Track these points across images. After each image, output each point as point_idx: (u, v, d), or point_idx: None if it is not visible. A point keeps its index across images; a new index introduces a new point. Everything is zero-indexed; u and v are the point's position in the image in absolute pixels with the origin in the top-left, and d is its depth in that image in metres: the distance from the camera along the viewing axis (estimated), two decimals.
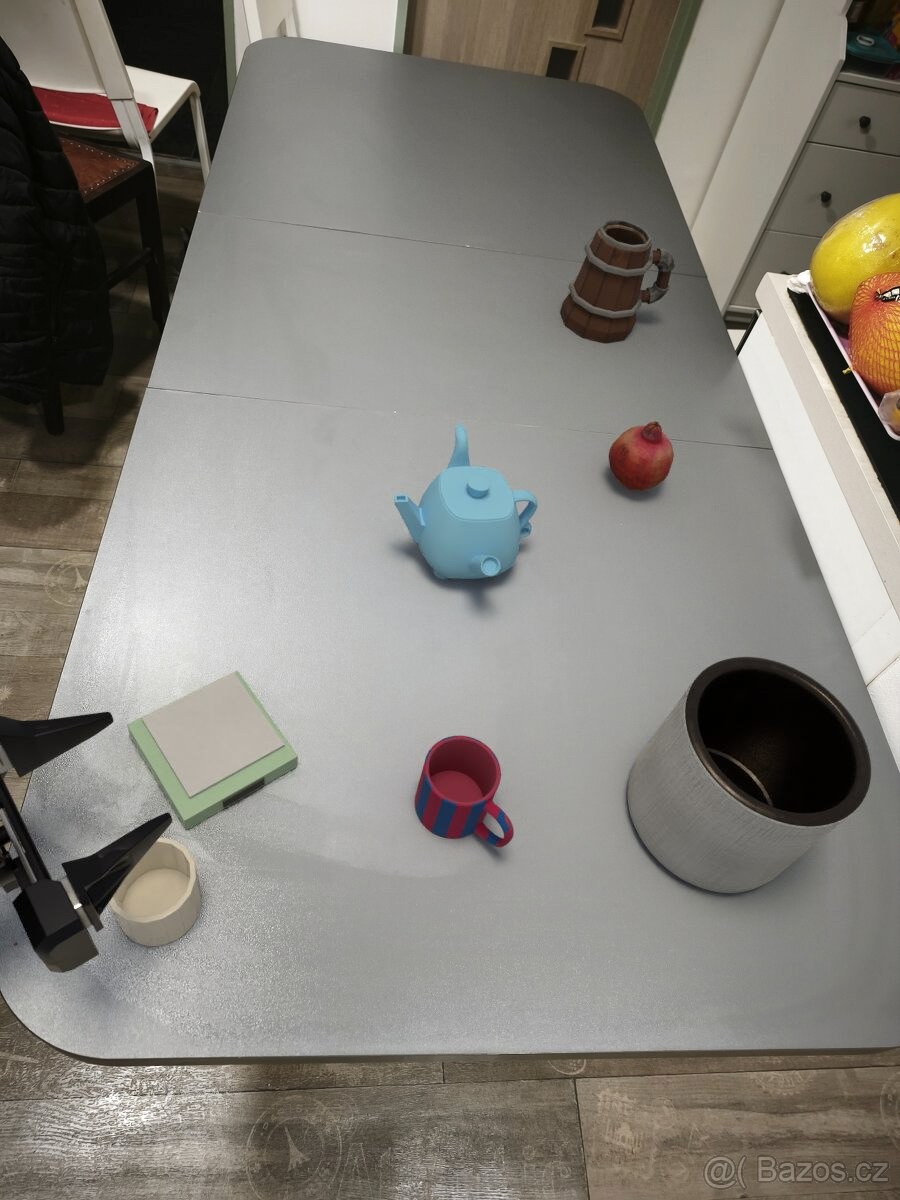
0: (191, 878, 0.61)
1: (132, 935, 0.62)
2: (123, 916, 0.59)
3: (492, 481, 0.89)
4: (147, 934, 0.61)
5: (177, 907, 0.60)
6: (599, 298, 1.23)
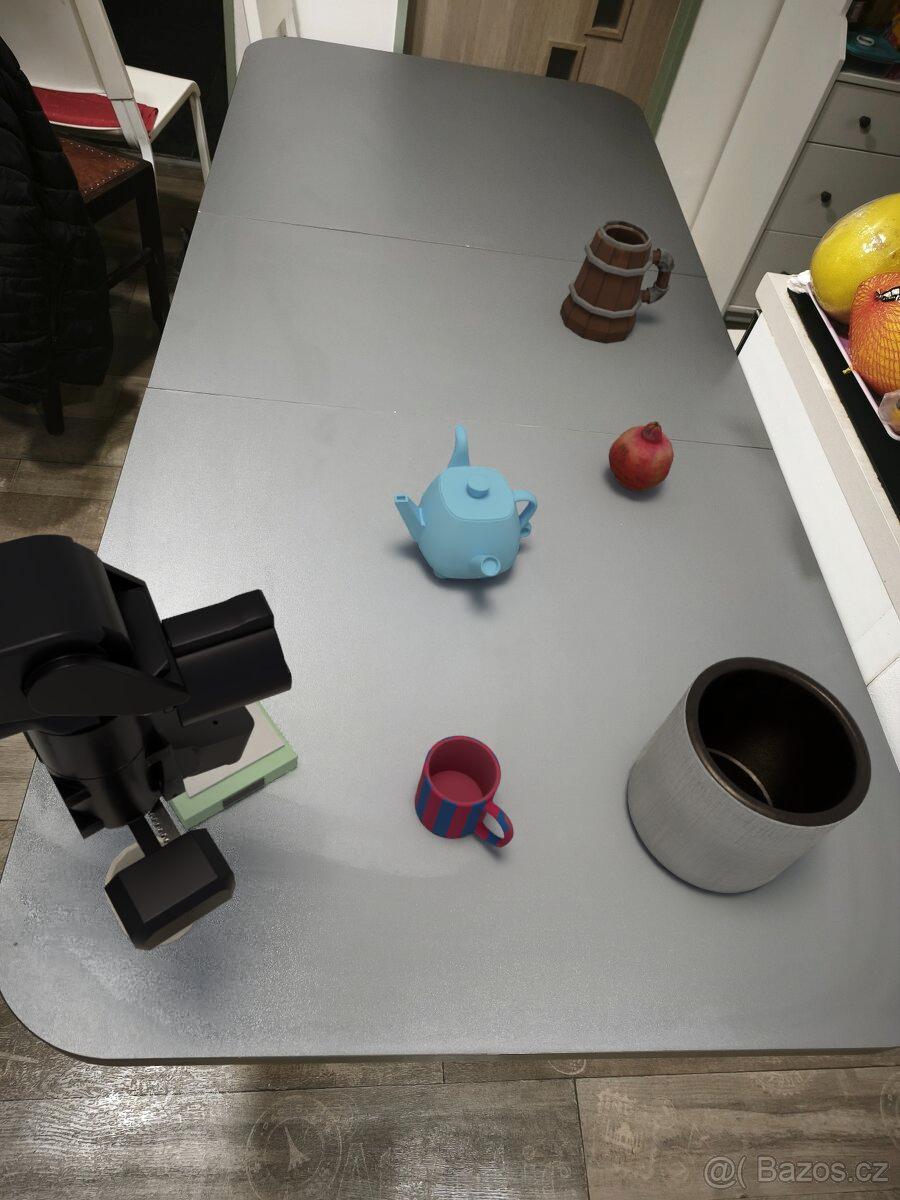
0: None
1: None
2: None
3: (492, 481, 0.89)
4: None
5: None
6: (599, 298, 1.23)
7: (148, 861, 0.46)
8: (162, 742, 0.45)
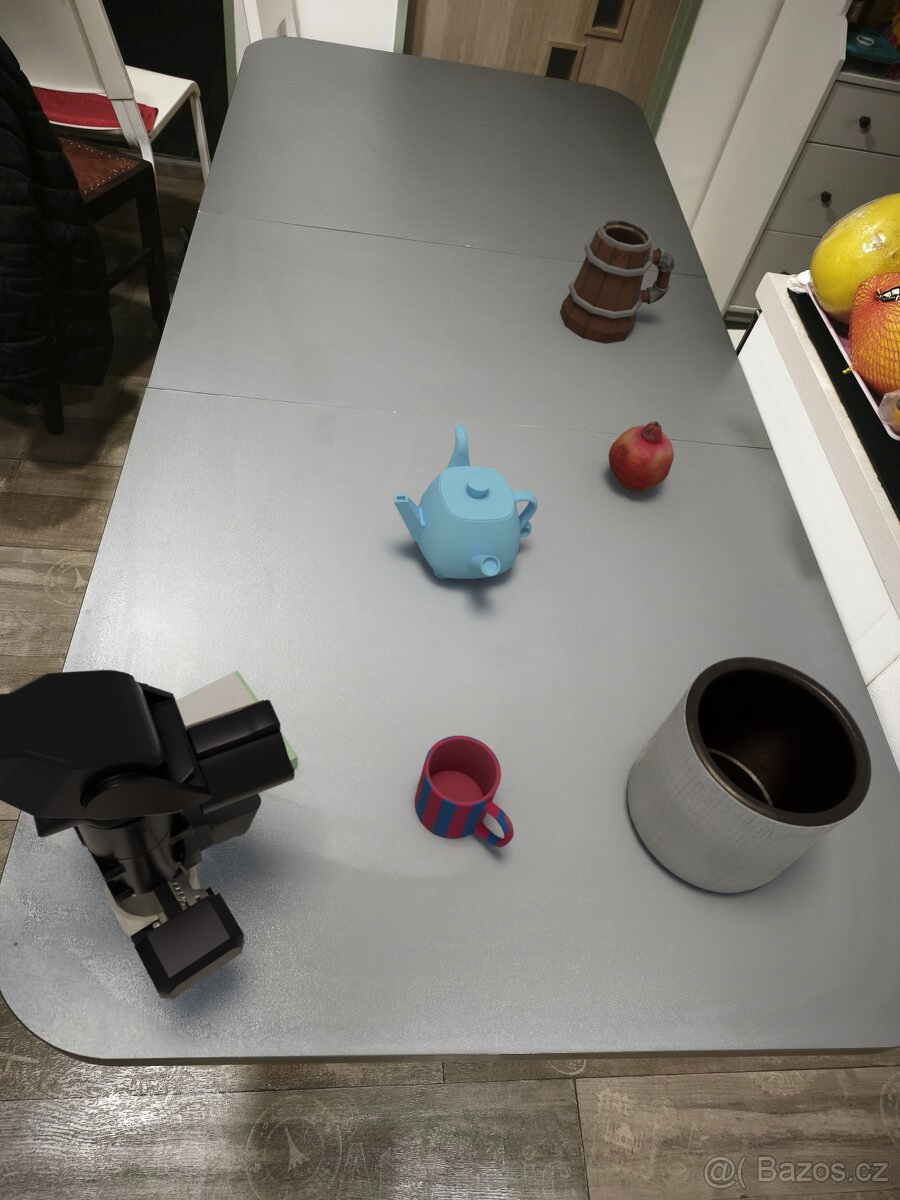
0: (191, 878, 0.61)
1: None
2: (123, 916, 0.59)
3: (492, 481, 0.89)
4: None
5: None
6: (599, 298, 1.23)
7: (172, 924, 0.54)
8: (184, 824, 0.54)
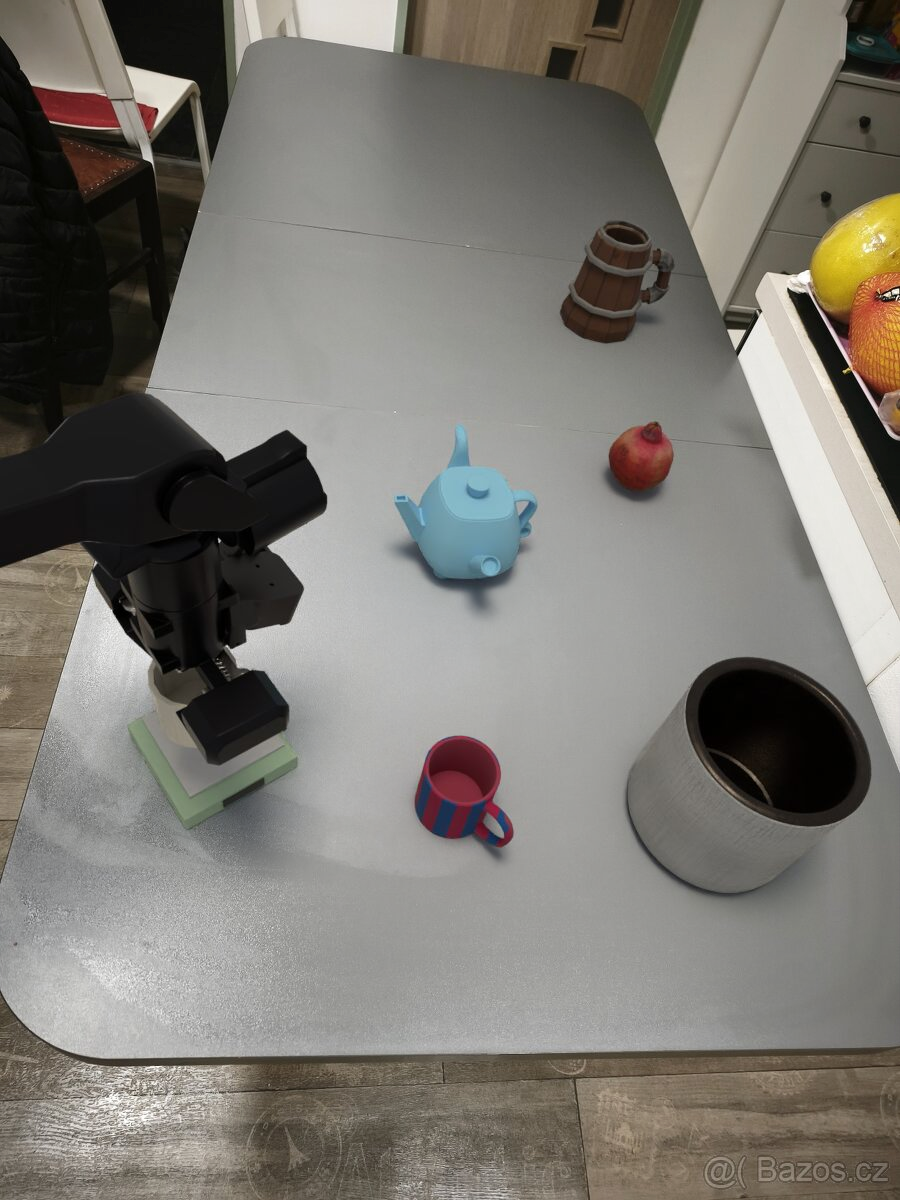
0: None
1: (174, 732, 0.62)
2: (167, 703, 0.59)
3: (492, 481, 0.89)
4: None
5: None
6: (599, 298, 1.23)
7: (218, 691, 0.54)
8: (231, 590, 0.54)
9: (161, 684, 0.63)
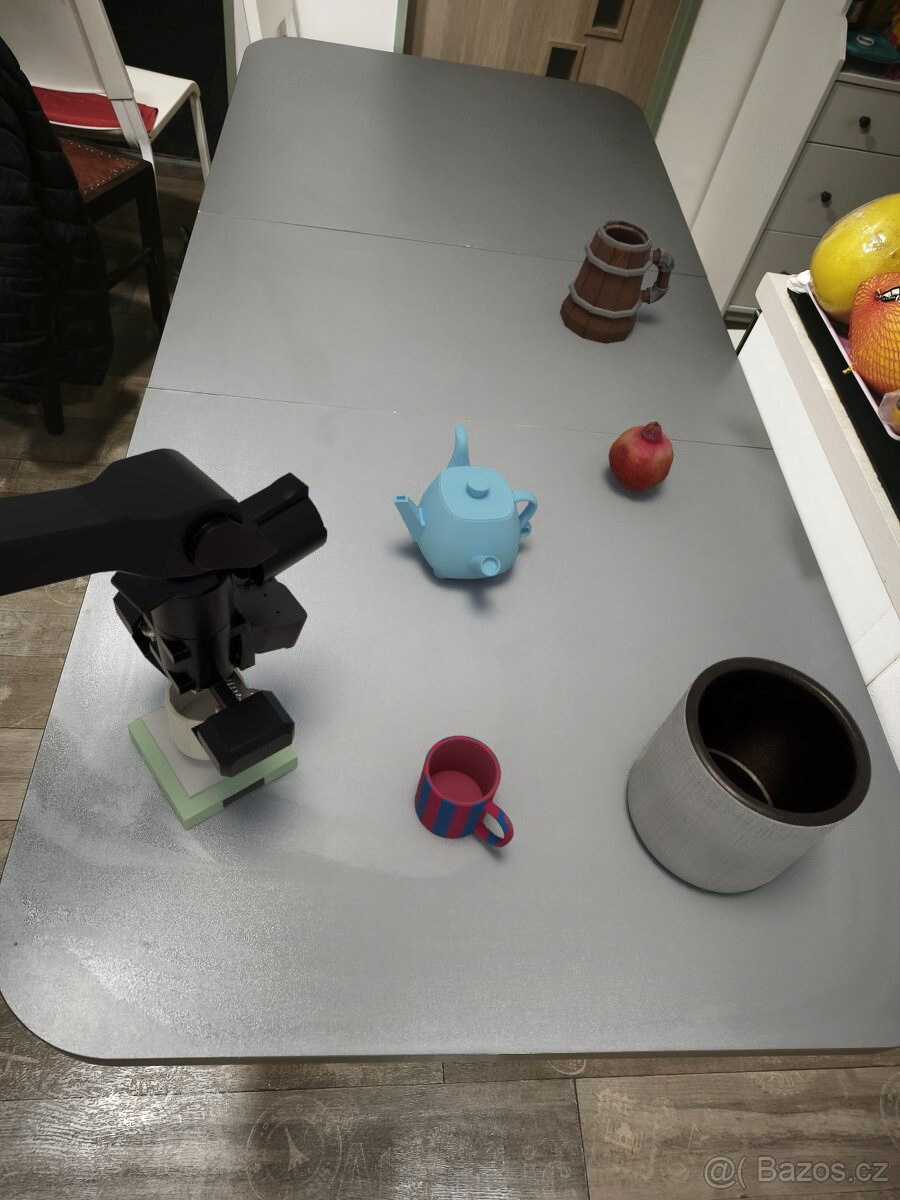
0: None
1: (187, 746, 0.68)
2: (182, 720, 0.65)
3: (492, 481, 0.89)
4: None
5: None
6: (599, 298, 1.23)
7: (230, 710, 0.60)
8: (242, 619, 0.59)
9: (175, 702, 0.69)
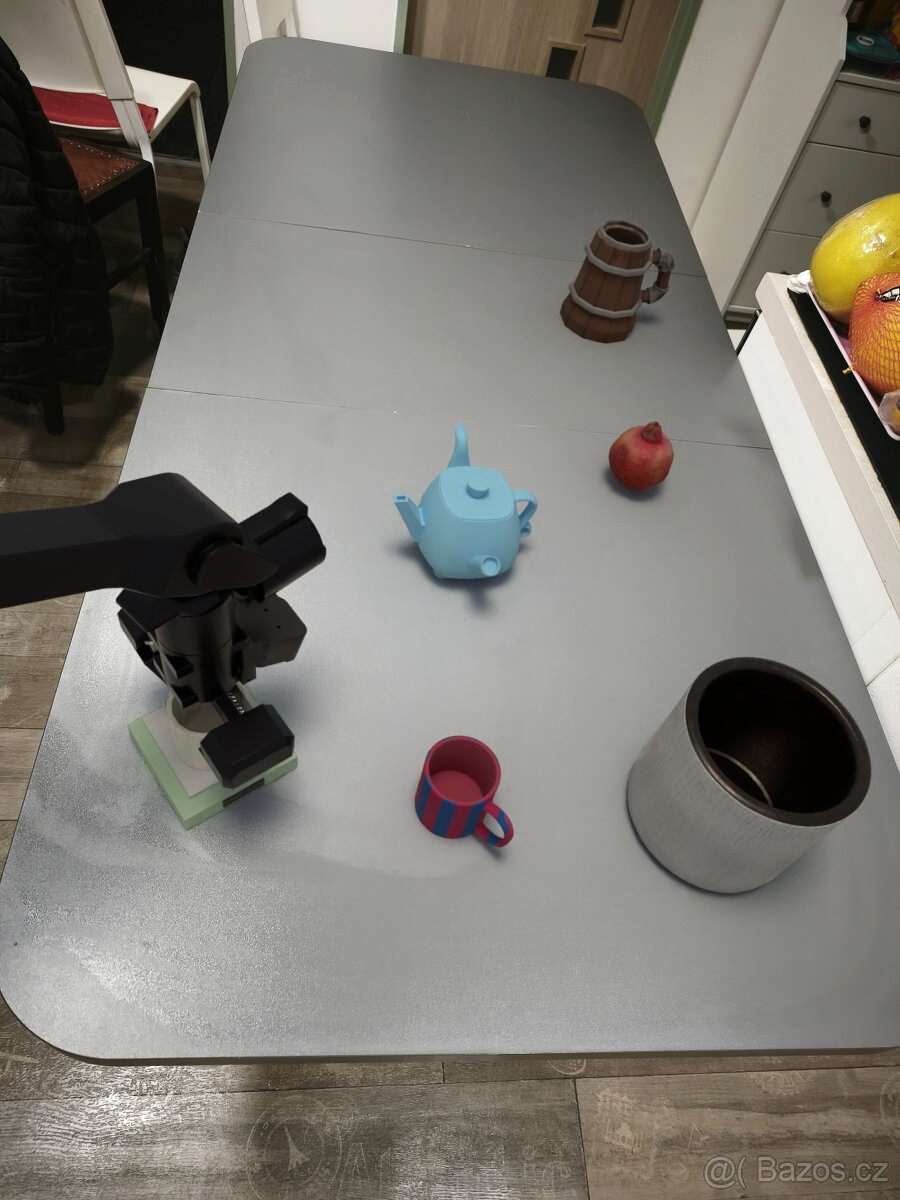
0: None
1: (189, 757, 0.69)
2: (184, 732, 0.66)
3: (492, 481, 0.89)
4: None
5: None
6: (599, 298, 1.23)
7: (232, 723, 0.61)
8: (244, 635, 0.61)
9: (178, 713, 0.70)
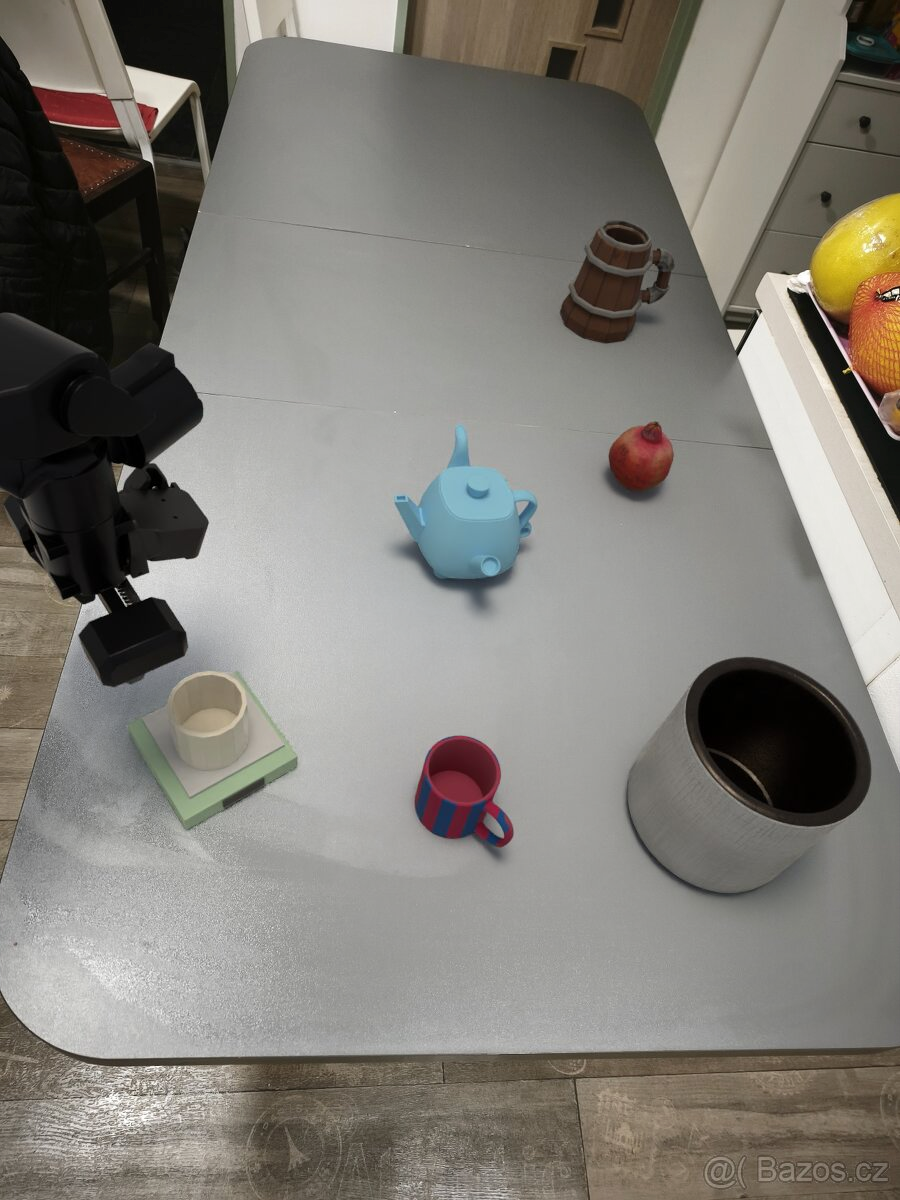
0: (243, 704, 0.69)
1: (189, 757, 0.69)
2: (184, 732, 0.66)
3: (492, 481, 0.89)
4: (204, 753, 0.68)
5: (231, 726, 0.67)
6: (599, 298, 1.23)
7: (115, 615, 0.56)
8: (129, 517, 0.55)
9: (178, 713, 0.70)
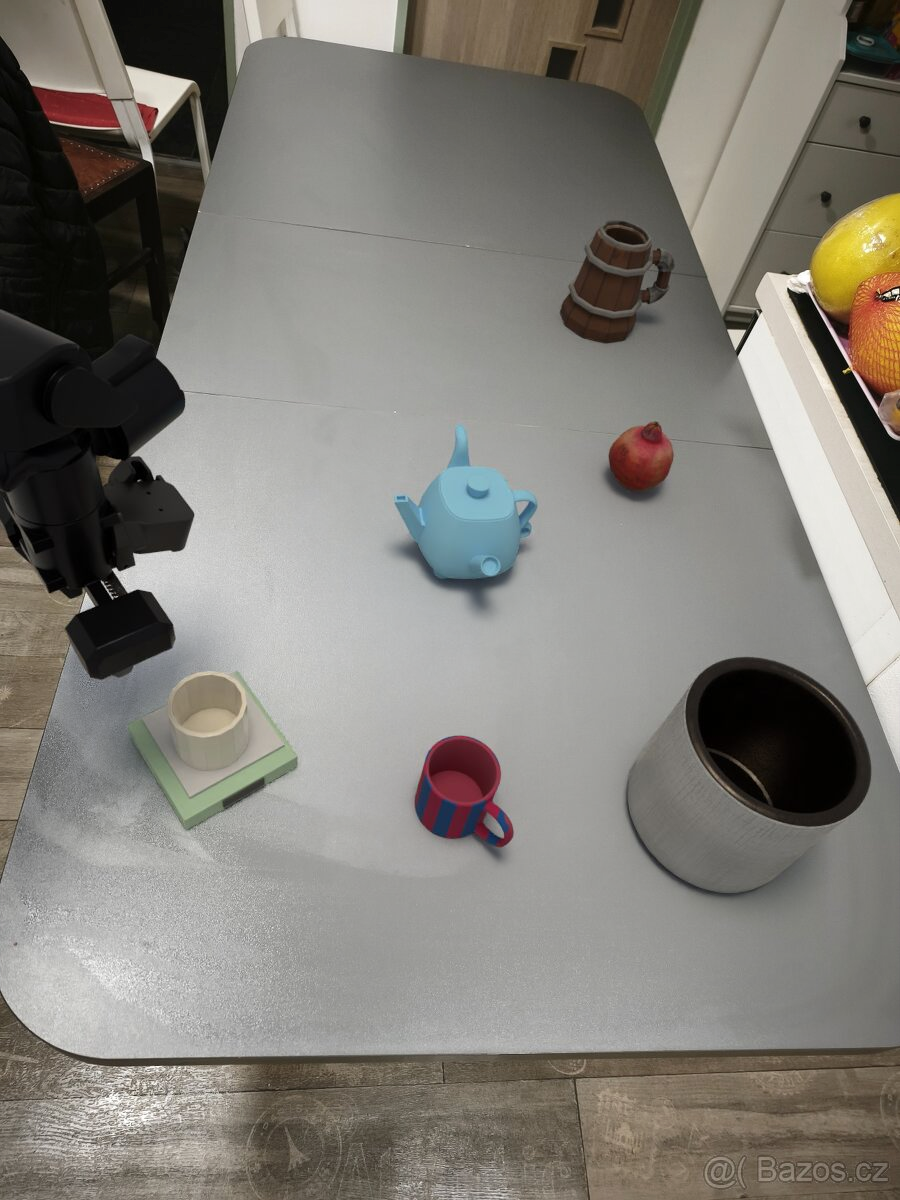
0: (243, 704, 0.69)
1: (189, 757, 0.69)
2: (184, 732, 0.66)
3: (492, 481, 0.89)
4: (204, 753, 0.68)
5: (231, 726, 0.67)
6: (599, 298, 1.23)
7: (101, 608, 0.56)
8: (114, 509, 0.55)
9: (178, 713, 0.70)
